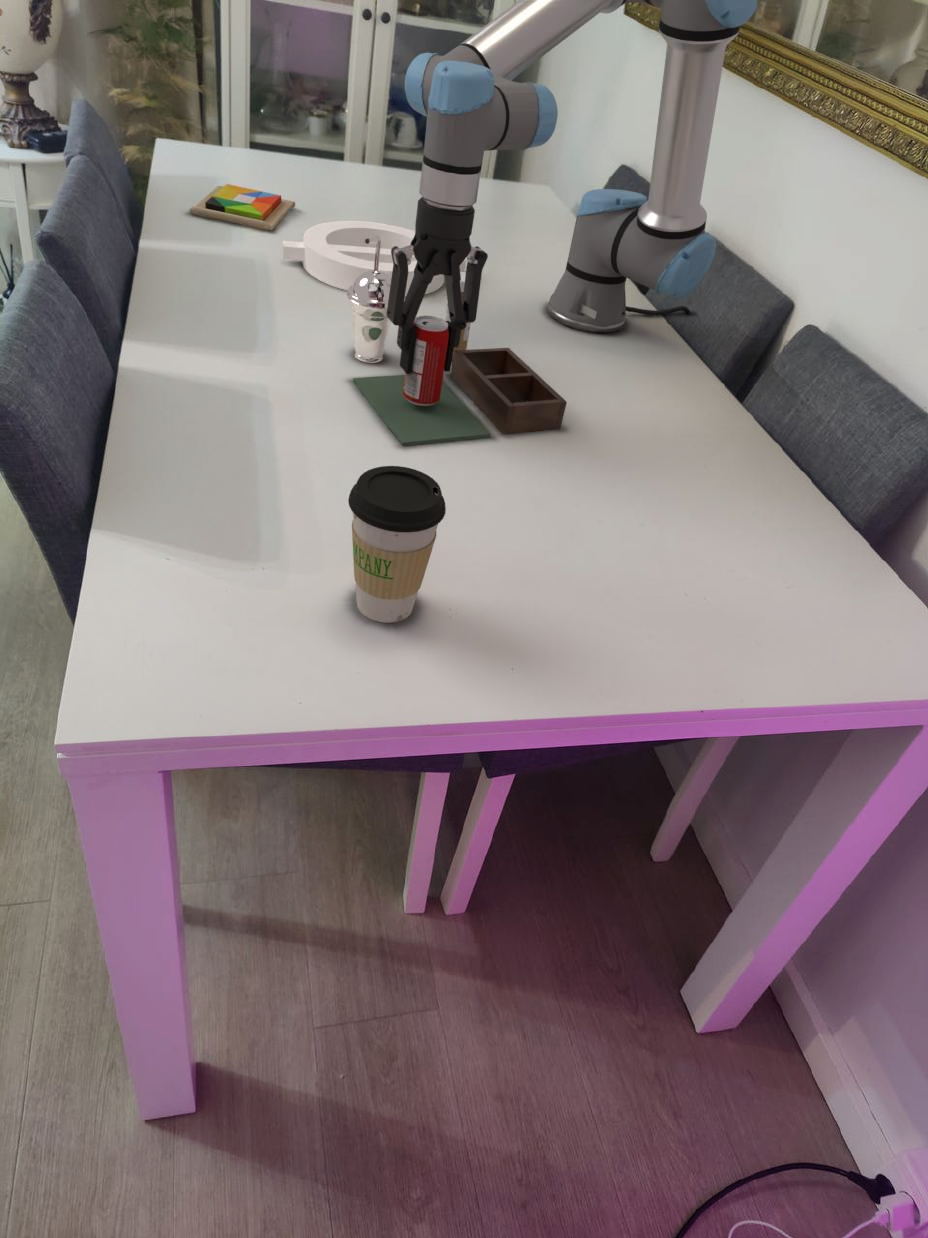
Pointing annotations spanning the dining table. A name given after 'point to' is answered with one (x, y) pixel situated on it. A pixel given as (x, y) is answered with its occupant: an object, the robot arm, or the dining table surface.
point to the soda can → (427, 361)
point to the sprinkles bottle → (466, 331)
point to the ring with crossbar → (352, 252)
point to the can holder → (507, 390)
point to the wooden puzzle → (243, 206)
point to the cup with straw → (370, 310)
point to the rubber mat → (420, 413)
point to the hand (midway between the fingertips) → (425, 368)
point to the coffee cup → (392, 538)
